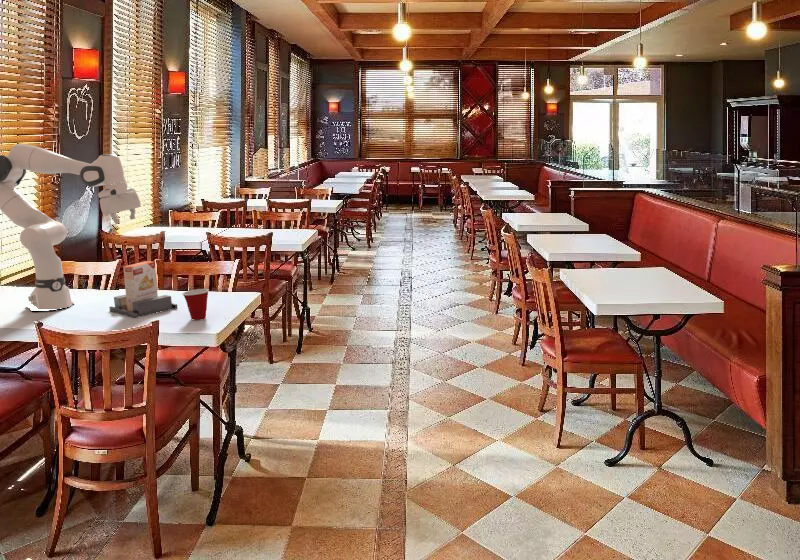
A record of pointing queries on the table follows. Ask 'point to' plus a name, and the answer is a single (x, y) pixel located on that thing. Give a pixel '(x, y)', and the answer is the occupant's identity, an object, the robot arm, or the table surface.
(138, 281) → the cracker box
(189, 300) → the plastic cup
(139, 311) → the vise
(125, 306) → the block
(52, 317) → the table surface
